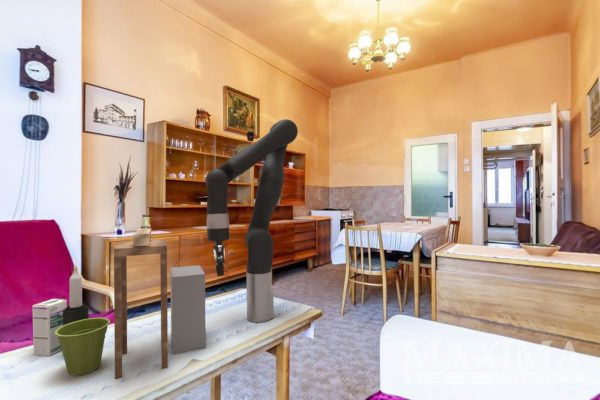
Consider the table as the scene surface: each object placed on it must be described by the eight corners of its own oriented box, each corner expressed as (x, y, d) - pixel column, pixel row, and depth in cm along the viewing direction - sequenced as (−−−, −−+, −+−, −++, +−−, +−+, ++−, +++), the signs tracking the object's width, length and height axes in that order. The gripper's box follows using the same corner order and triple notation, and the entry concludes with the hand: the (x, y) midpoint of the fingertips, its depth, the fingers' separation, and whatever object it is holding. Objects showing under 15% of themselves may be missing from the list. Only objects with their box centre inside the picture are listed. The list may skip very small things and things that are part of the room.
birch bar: (151, 237, 101) (150, 228, 102) (149, 245, 80) (148, 233, 80) (138, 238, 100) (138, 228, 100) (133, 246, 78) (133, 234, 78)
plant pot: (96, 353, 89) (95, 314, 89) (119, 364, 83) (119, 322, 83) (46, 373, 79) (45, 329, 79) (68, 387, 73) (68, 339, 73)
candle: (90, 349, 92) (90, 265, 92) (72, 357, 87) (71, 268, 87) (80, 346, 94) (79, 263, 94) (61, 354, 89) (60, 267, 89)
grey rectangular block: (199, 330, 105) (199, 265, 105) (205, 348, 92) (205, 273, 92) (171, 335, 101) (170, 267, 101) (172, 354, 88) (172, 277, 88)
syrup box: (49, 356, 88) (48, 305, 88) (32, 354, 89) (32, 304, 89) (68, 347, 93) (67, 299, 93) (52, 345, 95) (51, 298, 95)
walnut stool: (166, 343, 95) (165, 239, 95) (167, 367, 81) (166, 245, 81) (121, 352, 90) (120, 241, 90) (114, 379, 76) (113, 248, 76)
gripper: (230, 227, 103) (232, 276, 103) (227, 225, 117) (229, 268, 116) (207, 228, 101) (209, 278, 100) (206, 226, 114) (208, 270, 114)
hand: (219, 273), depth 108 cm, fingers open, 8 cm apart
